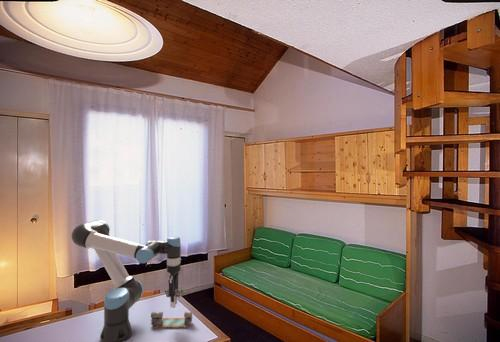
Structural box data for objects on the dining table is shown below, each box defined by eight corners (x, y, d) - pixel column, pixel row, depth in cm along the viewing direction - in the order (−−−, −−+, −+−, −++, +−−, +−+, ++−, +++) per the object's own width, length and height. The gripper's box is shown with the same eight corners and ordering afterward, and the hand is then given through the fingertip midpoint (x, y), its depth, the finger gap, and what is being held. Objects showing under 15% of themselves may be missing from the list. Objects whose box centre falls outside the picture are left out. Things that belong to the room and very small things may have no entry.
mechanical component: (182, 308, 152) (182, 290, 152) (164, 308, 152) (164, 290, 152) (183, 305, 155) (183, 288, 155) (166, 305, 155) (166, 288, 155)
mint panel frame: (149, 328, 149) (149, 315, 149) (154, 319, 158) (154, 307, 158) (190, 328, 149) (190, 315, 149) (193, 319, 158) (193, 307, 158)
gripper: (176, 269, 146) (176, 312, 145) (183, 259, 162) (183, 298, 161) (162, 269, 146) (162, 312, 145) (171, 260, 162) (171, 299, 161)
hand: (173, 305), depth 153 cm, fingers closed on mechanical component, 3 cm apart
